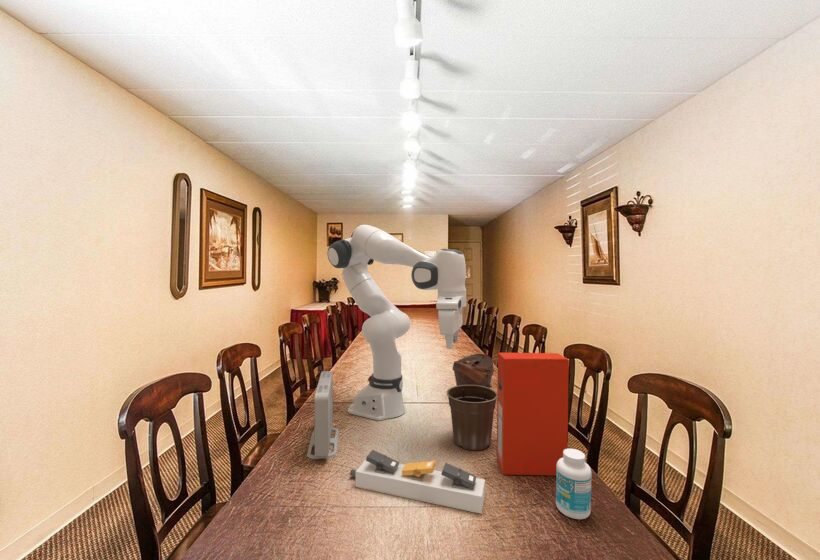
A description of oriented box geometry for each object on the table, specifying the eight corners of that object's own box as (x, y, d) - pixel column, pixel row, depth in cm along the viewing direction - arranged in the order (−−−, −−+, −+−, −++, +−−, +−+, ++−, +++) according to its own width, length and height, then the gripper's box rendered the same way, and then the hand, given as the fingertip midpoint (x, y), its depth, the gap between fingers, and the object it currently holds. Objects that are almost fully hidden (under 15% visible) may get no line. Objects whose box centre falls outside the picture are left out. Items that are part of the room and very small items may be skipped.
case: (451, 404, 145) (452, 361, 145) (451, 388, 165) (452, 350, 165) (495, 407, 143) (497, 364, 143) (490, 391, 163) (491, 352, 163)
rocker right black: (440, 477, 85) (442, 469, 85) (443, 469, 89) (445, 462, 88) (472, 492, 83) (474, 484, 83) (474, 483, 86) (476, 475, 86)
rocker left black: (365, 463, 91) (366, 456, 91) (370, 456, 95) (372, 449, 95) (392, 476, 89) (394, 469, 89) (397, 468, 93) (399, 461, 92)
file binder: (496, 459, 104) (497, 352, 103) (555, 460, 104) (557, 352, 103) (503, 475, 96) (504, 359, 95) (567, 476, 96) (569, 359, 95)
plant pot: (454, 456, 106) (454, 403, 105) (441, 431, 121) (441, 385, 121) (505, 452, 108) (506, 400, 108) (486, 428, 124) (486, 383, 124)
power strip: (345, 484, 91) (345, 467, 91) (357, 469, 98) (357, 454, 98) (481, 513, 81) (481, 495, 81) (484, 495, 87) (485, 477, 87)
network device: (336, 463, 101) (336, 394, 101) (304, 466, 100) (304, 396, 99) (339, 424, 127) (339, 369, 126) (314, 426, 125) (314, 370, 125)
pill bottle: (549, 500, 86) (550, 445, 85) (578, 498, 86) (580, 444, 86) (566, 522, 78) (567, 462, 78) (597, 520, 79) (599, 461, 78)
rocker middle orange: (403, 478, 88) (401, 470, 88) (407, 470, 92) (405, 462, 92) (433, 475, 86) (431, 467, 86) (436, 468, 89) (434, 460, 89)
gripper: (448, 298, 120) (448, 338, 120) (434, 303, 100) (435, 351, 101) (466, 298, 118) (467, 339, 118) (456, 303, 99) (457, 353, 99)
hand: (452, 345), depth 109 cm, fingers open, 8 cm apart
